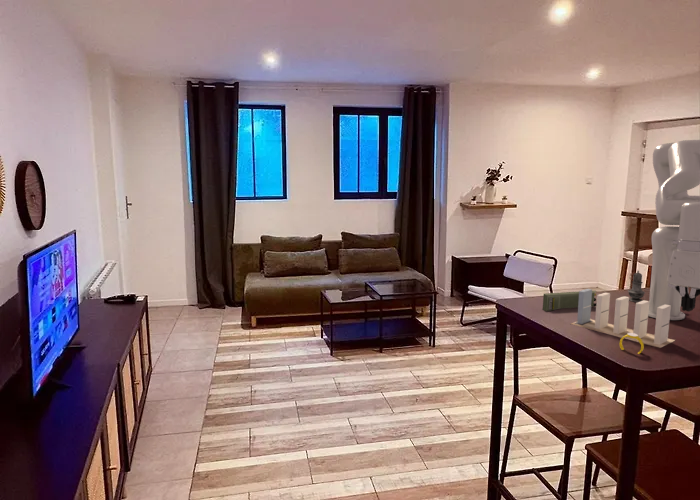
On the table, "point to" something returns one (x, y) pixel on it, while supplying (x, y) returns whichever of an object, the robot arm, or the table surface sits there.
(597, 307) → the domino
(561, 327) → the table surface
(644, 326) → the domino
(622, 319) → the domino
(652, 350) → the table surface
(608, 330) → the board
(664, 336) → the domino
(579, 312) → the domino
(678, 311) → the robot arm
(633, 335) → the yellow wristwatch
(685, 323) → the table surface
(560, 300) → the handheld radio
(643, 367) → the table surface
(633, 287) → the dark grey tall piece
